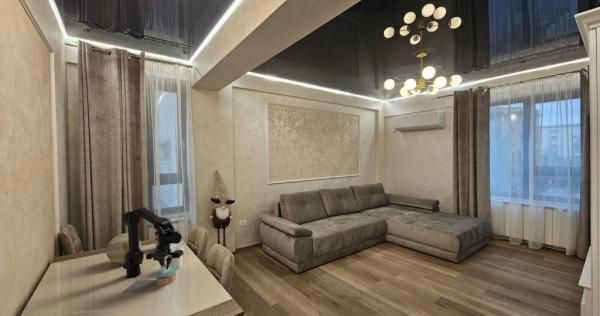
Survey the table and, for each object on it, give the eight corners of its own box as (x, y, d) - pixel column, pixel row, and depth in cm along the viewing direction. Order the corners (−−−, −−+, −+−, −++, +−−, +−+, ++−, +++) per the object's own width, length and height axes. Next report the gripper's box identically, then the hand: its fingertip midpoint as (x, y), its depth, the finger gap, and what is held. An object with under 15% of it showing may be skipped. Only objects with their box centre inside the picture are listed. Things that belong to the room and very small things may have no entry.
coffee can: (164, 251, 190) (163, 232, 190) (152, 250, 192) (151, 232, 192) (173, 246, 200) (172, 228, 200) (162, 245, 202) (161, 228, 202)
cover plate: (150, 277, 136) (149, 269, 136) (161, 268, 147) (161, 261, 147) (170, 277, 136) (169, 269, 136) (180, 267, 147) (179, 260, 147)
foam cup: (177, 272, 153) (176, 251, 153) (164, 271, 155) (163, 251, 155) (187, 265, 163) (186, 245, 162) (175, 265, 164) (174, 245, 164)
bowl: (153, 286, 137) (153, 278, 137) (162, 278, 146) (162, 271, 146) (170, 286, 137) (169, 278, 137) (178, 278, 146) (177, 270, 146)
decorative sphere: (142, 263, 170) (141, 234, 169) (105, 272, 158) (104, 240, 158) (141, 254, 186) (140, 227, 185) (108, 261, 175) (106, 233, 174)
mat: (120, 294, 131) (120, 293, 131) (137, 281, 144) (137, 280, 144) (145, 293, 131) (145, 292, 131) (159, 280, 144) (159, 279, 144)
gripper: (138, 248, 133) (140, 277, 134) (173, 246, 133) (174, 275, 134) (151, 240, 144) (152, 267, 145) (183, 239, 144) (184, 266, 145)
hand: (165, 269), depth 142 cm, fingers closed on cover plate, 2 cm apart
